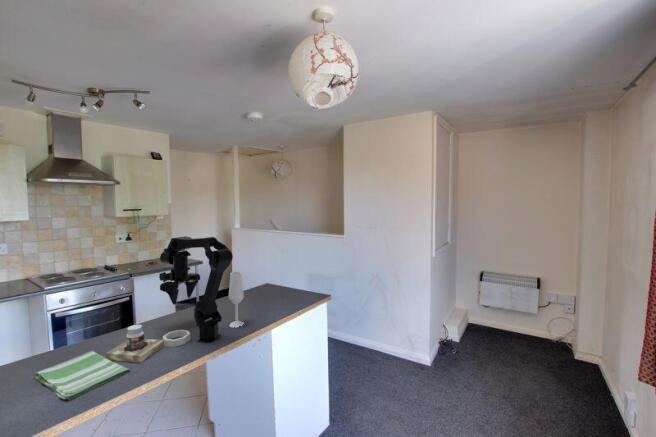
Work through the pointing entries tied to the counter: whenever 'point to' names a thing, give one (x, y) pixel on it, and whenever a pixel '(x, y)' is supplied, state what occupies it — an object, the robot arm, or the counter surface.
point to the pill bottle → (135, 338)
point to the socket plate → (135, 356)
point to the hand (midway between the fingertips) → (181, 300)
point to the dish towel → (80, 375)
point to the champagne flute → (236, 295)
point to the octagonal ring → (176, 342)
